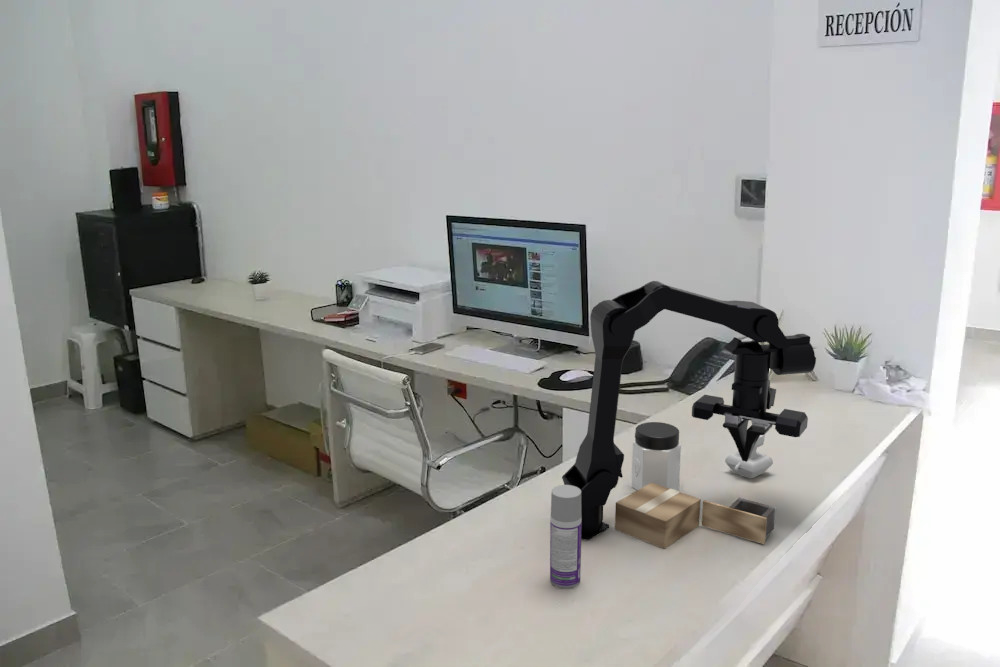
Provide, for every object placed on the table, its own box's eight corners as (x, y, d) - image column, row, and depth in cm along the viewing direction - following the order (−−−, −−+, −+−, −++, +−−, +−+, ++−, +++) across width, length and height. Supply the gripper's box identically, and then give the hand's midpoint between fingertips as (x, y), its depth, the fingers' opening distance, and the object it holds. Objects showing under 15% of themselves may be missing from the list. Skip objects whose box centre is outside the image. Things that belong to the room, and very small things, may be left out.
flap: (773, 532, 142) (776, 507, 141) (763, 544, 138) (766, 518, 137) (712, 515, 148) (714, 490, 147) (701, 525, 145) (702, 500, 143)
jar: (625, 481, 163) (626, 423, 160) (662, 475, 165) (665, 418, 162) (646, 501, 154) (648, 440, 151) (685, 495, 157) (688, 435, 154)
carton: (664, 549, 138) (665, 520, 136) (614, 529, 144) (615, 502, 143) (699, 525, 145) (700, 498, 144) (650, 507, 152) (651, 481, 151)
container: (561, 569, 132) (562, 481, 128) (586, 579, 129) (588, 489, 125) (543, 581, 128) (544, 492, 124) (569, 592, 125) (570, 501, 122)
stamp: (748, 485, 161) (751, 444, 158) (720, 474, 166) (722, 434, 163) (775, 473, 166) (779, 433, 164) (747, 462, 171) (750, 424, 169)
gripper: (819, 373, 145) (811, 456, 149) (714, 356, 155) (709, 435, 159) (802, 390, 136) (794, 478, 140) (692, 372, 146) (688, 455, 150)
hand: (745, 460), depth 147 cm, fingers closed
